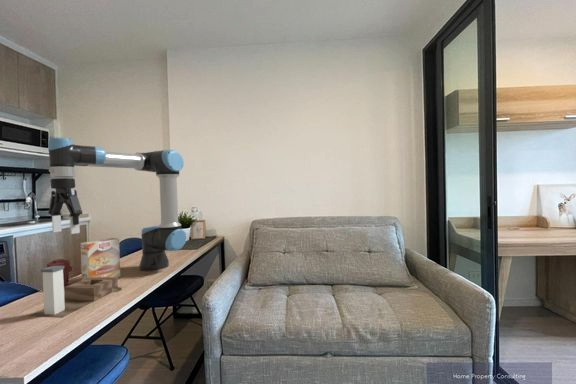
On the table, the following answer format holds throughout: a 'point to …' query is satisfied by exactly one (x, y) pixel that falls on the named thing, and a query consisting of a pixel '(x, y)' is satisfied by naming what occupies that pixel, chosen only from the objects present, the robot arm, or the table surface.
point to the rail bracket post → (53, 289)
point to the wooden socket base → (83, 294)
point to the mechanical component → (65, 271)
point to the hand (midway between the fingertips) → (66, 232)
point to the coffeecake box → (100, 258)
